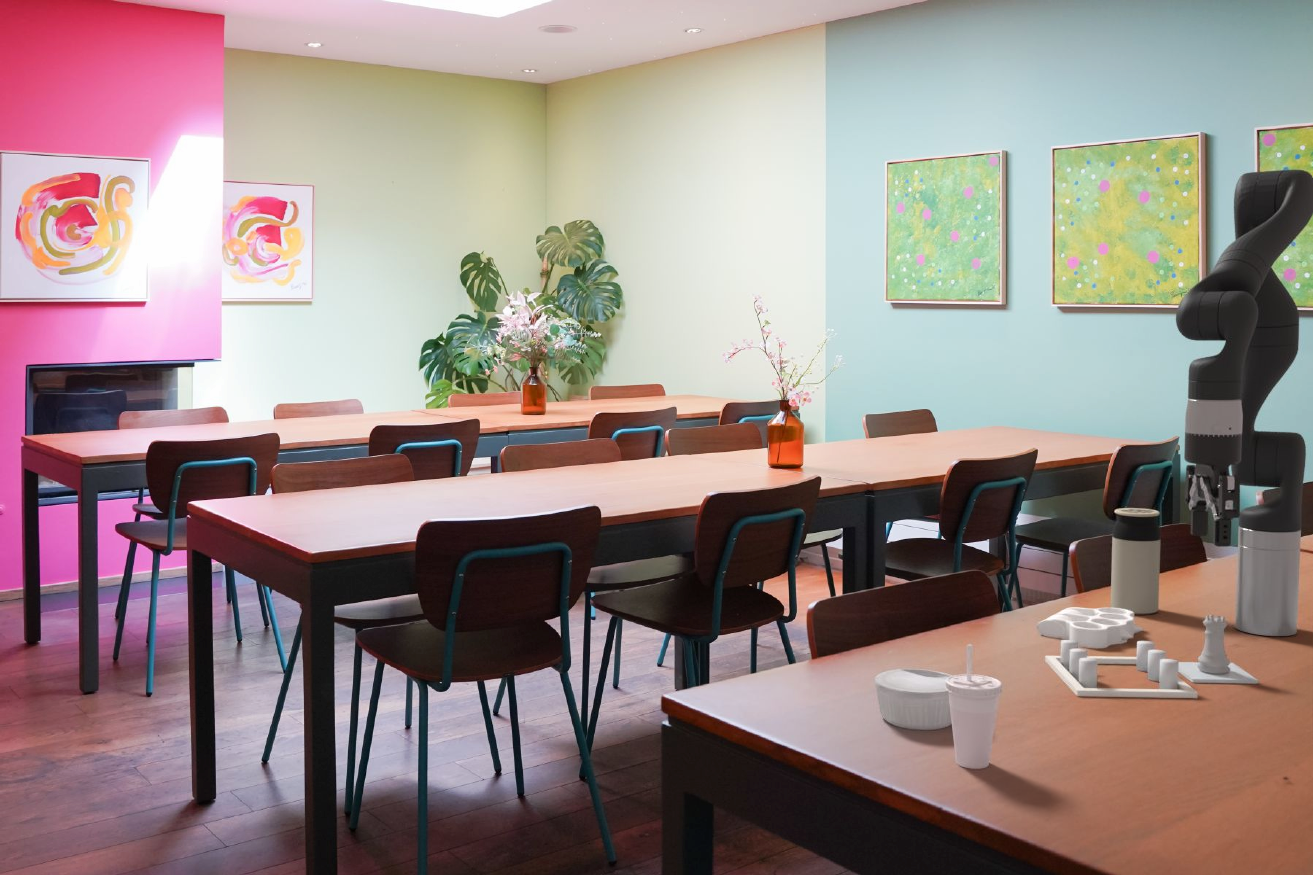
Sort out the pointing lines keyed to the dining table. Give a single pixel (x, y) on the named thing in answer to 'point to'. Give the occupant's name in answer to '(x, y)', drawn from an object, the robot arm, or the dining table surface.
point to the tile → (1198, 676)
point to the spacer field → (1145, 661)
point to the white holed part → (1091, 626)
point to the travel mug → (1136, 561)
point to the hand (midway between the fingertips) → (1210, 540)
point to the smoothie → (973, 715)
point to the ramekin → (914, 698)
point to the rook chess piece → (1214, 647)
